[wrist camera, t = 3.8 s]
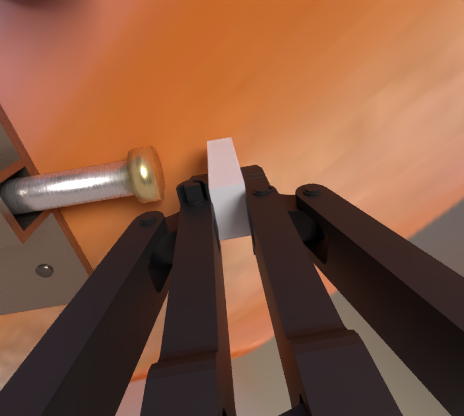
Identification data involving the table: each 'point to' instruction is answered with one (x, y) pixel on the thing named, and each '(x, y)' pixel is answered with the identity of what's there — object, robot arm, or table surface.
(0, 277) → the hinge
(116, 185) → the pin
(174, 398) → the robot arm
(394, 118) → the table surface
